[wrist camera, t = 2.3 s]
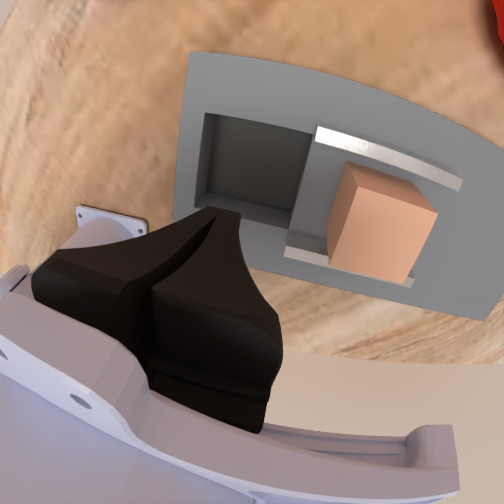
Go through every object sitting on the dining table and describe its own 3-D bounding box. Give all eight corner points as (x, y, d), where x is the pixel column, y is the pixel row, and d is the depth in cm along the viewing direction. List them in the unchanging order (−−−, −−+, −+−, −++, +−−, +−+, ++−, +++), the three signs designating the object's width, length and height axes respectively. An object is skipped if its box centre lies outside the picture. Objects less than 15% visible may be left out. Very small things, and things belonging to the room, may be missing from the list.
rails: (403, 270, 20) (410, 288, 18) (285, 240, 20) (283, 256, 18) (449, 168, 15) (463, 179, 13) (316, 121, 15) (318, 126, 14)
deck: (473, 300, 23) (484, 321, 21) (185, 228, 25) (171, 247, 22) (538, 176, 15) (557, 190, 13) (205, 54, 17) (189, 51, 14)
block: (387, 242, 19) (402, 284, 15) (325, 225, 19) (328, 265, 15) (412, 182, 16) (438, 214, 12) (346, 160, 16) (357, 186, 13)
